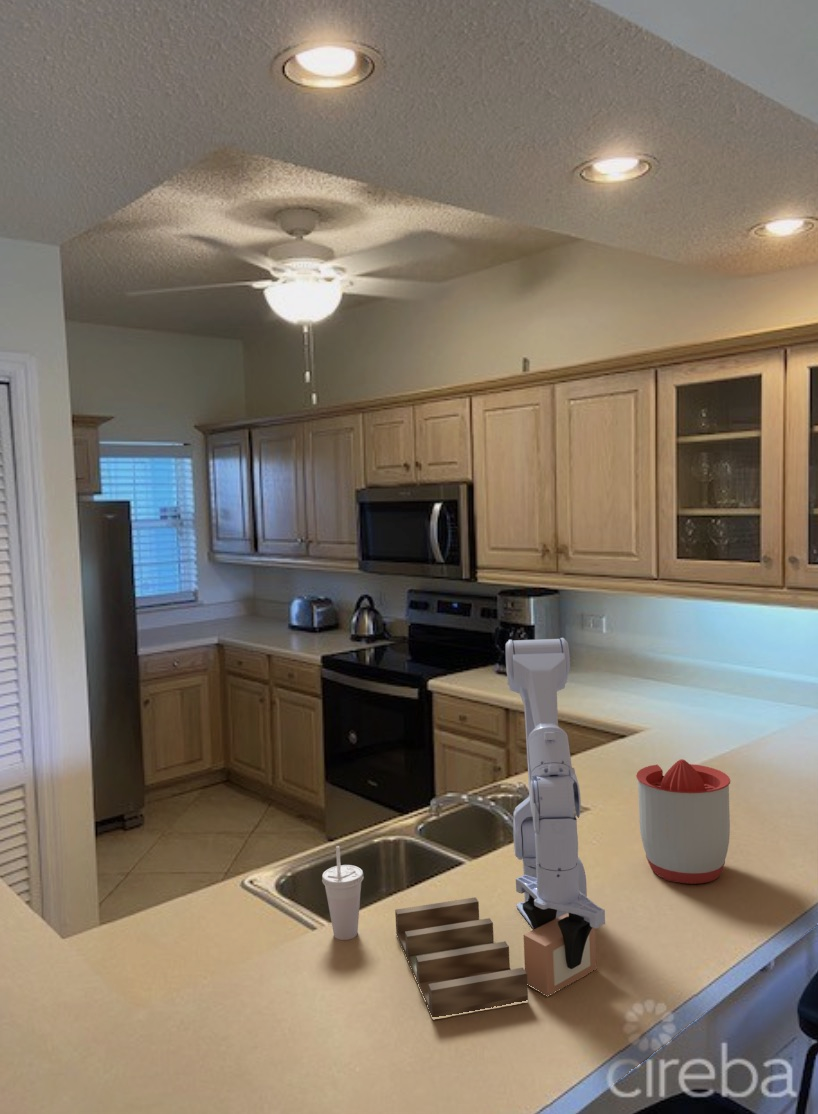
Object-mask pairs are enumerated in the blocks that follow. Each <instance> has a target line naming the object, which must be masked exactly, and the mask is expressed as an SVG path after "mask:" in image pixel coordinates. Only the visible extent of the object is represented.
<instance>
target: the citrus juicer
mask: <svg viewBox="0 0 818 1114" xmlns="http://www.w3.org/2000/svg"><path fill="white" fill-rule="evenodd" d="M635 777H636V779H637V787H638V788H637V789H638V794H637V795H638V818H639V819H638V821H639V831H640V837H641V841H642V846H643V850H644V853H645V858H646V860H647V862H648V864H649V866H650V869H651V871H652V872H653V873H654V874H655V875H657V876H659V877H660V878H662V879H664V880H666V881H668V882H675V883H681V884H693V885H694V884H696V885H697V884H704V883H709V882H714V880H717V879H718V878H719V877H720V875H721V873H722V871H723V869H724V866H725V864H726V858H727V855H728V850H729V845H730V833H731V832H730V831H731V824H730V823H731V820H730V787H729V786H730V784H731V779H730V776H728V775H727V774H726V773H725V772H723V771H721V770H720V769H719V770H718V769H716V768H713V767H709V766H705V765H700V764H692V763H689V762H688V761H686V759H682V758H681V759H679V760H678V761H677V760H676V762H675V763H674V764H673V765H672V766H670V768H669V769H668V770H667V771H666V773H665V774H664V772H663V768H661V766H660V765H658V764H654V765H648V766H645V767H642V768H640V769H639V770H638V771H637V773H636V775H635Z"/></svg>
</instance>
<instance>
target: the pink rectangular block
mask: <svg viewBox="0 0 818 1114" xmlns="http://www.w3.org/2000/svg"><path fill="white" fill-rule="evenodd" d="M565 917H569V913H567V914H565V915H562V916H560V917H558V918H556V919H554V920H552V921H550V922H548V923H546V924H544V925H542V926H540V927H538V928H536V929H532V930H531V931H528V932H526V933H524V934H523V955H524V956H523V957H524V970H525V971H526V973H527V984H528V985H530V986H532V987H534V988H535V989H537V990H539V991H540V992H542V993H543V994H545V995H547V996H548V995H550V994H552V995H554V994H555V993H554V992H555V991H557V990H559V989H561V988H563V987H565V986H566V987H568V986H569V985H568V984H570V985H571V983H572V982H573V983H575V982H577V981H578V980H580V979H582V978H583V976H584V977H585V976H587V975H589V974H590V972H591V973H592V972H594V971H596V970H597V951H596V950H597V949H596V948H597V947H596V929H595V928H593V927H592V929H591V931H590V933H589V936H588V938H587V941H586V944H585V947H584V951H583V956H582V960H581V964H580V965H578V966H577V967H575V968H573V969H570V968H568V967H567V963H566V956H565V945H564V940H563V936H562V933H561V930H560V928H559V925H558V921H559V920H561V919H563V918H565ZM593 970H594V971H593ZM588 973H589V974H588ZM576 980H577V981H576ZM574 981H575V982H574ZM573 983H572V984H573ZM567 985H568V986H567ZM566 987H565V988H566ZM563 989H564V988H563ZM561 990H562V989H561ZM559 991H560V990H559ZM553 993H554V994H553Z"/></svg>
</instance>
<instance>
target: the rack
mask: <svg viewBox="0 0 818 1114" xmlns="http://www.w3.org/2000/svg"><path fill="white" fill-rule="evenodd" d="M479 904H480V903H479V900H478V898H477V897H469V898H461V899H455V900H450V901H443V902H442V901H441V902H435V903H429V904H424V905H418V906H411V907H404V908H397V909H395V910H394V911H395V913H394V914H395V930H396V934H397V935H396V937H397V936H398V937H397V940H398V939H399V940H398V942H399V941H400V942H399V944H400V943H401V945H400V946H402V947H401V949H402V948H403V949H402V951H403V950H404V952H405V954H406V956H405V958H406V957H407V959H408V961H409V964H410V966H411V968H412V970H413V973H414V975H415V977H416V980H417V982H418V984H419V987H420V989H421V991H422V993H423V996H424V998H425V1000H426V1003H427V1005H428V1008H429V1011H430V1013H431V1015H432V1017H439V1016H446V1015H452V1014H459V1013H463V1012H469V1011H475V1010H480V1009H485V1008H491V1007H492V1008H493V1007H494V1006H496V1007H497V1006H502V1005H506V1004H511V1003H514V1002H522V1001H526V1000H528V1001H529V991H528V990H529V989H528V987H529V986H527V973H526V971H525V967H518V968H512V969H511V965H510V946H509V945H508V943H507V942H506V941H500V942H495V941H494V923H493V921H492V919H491V918H490V917H489V918H482V919H480V907H479V906H480V905H479ZM404 952H403V953H404ZM405 954H404V955H405ZM407 959H406V960H407ZM408 961H407V962H408ZM409 964H408V965H409ZM410 966H409V967H410ZM411 968H410V969H411ZM413 973H412V974H413ZM414 975H413V976H414ZM416 980H415V981H416ZM419 987H418V988H419ZM429 1011H428V1012H429ZM430 1013H429V1014H430Z"/></svg>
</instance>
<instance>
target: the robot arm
mask: <svg viewBox="0 0 818 1114" xmlns="http://www.w3.org/2000/svg"><path fill="white" fill-rule="evenodd" d="M570 658H571V656H570V647H569V642H568V641H567V640H566V639H565V638H564V637H560V638H548V639H547V638H546V639H545V638H544V639H543V638H542V639H521V640H519V639H518V640H513V639H508V641H506V643H505V667H506V670H505V671H506V678H507V685H508V687H509V688H508V689H509V691H511V692H514V693H517V694H519V695H520V698H521V701H522V704H523V709H524V724H525V740H526V741H525V742H526V744H525V745H526V759H527V760H526V761H527V763H526V764H527V776H528V777H527V778H528V794H529V795H528V796H527V797H526V798H525V799H524V800H523V801H522V802H520V803H519V804H518V805H517V806H516V807H515V808H514V811H513V813H512V815H513V823H512V827H513V828H512V832H513V833H512V834H513V846H514V847H513V849H514V850H513V851H514V856H515V858H517V859H518V860H520V861H521V860H522V868H523V875H521V876H519V877H516V878H515V890H516V892H517V893H519V894H524V901H522V902H518V903H516V908H517V910H518V911H519V912H520V914H521V915H522V916H523V918H524V919H525V920H526V921H527V923H529V924H528V925H530V927H531V928H532V930H534V929H536V928H538V927H540V926H542V925H544V924H546V923H548V922H550V921H552V920H554V919H556V918H558V917H560V916H562V915H565V914H567V913H569V917H565V918H563V919H561V920H559V921H558V925H559V928H560V930H561V933H562V936H563V940H564V945H565V956H566V963H567V967H568V968H570V969H573V968H575V967H577V966H578V965H580V964H581V960H582V956H583V951H584V947H585V944H586V941H587V938H588V936H589V933H590V931H591V929H592V927H593V928H595V930H596V929H598V928H600V927H602V926H603V925H606V913H605V912H606V911H605V910H606V909H604V908H602V907H600V906H598V905H597V904H596V903H594V902H593V901H592V900H591V899H589V898H588V897H587V896H588V894H587V893H588V892H587V891H588V889H587V876H586V871H585V868H584V863H583V862H582V860H581V859H580V857H579V839H578V838H579V837H578V822H577V821H578V819H579V818H580V815H581V808H582V807H581V805H582V803H581V790H580V785H579V780H578V777H577V774H576V770H575V768H574V767H573V765H572V757H571V751H570V744H569V736H568V734H567V732H566V731H565V730H564V729H562V728H561V727H560V726H559V719H558V717H559V715H558V692H559V691H561V690H564V689H565V687H566V684H567V683H568V677H569V674H570V671H571V659H570ZM577 818H578V819H577Z"/></svg>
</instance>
